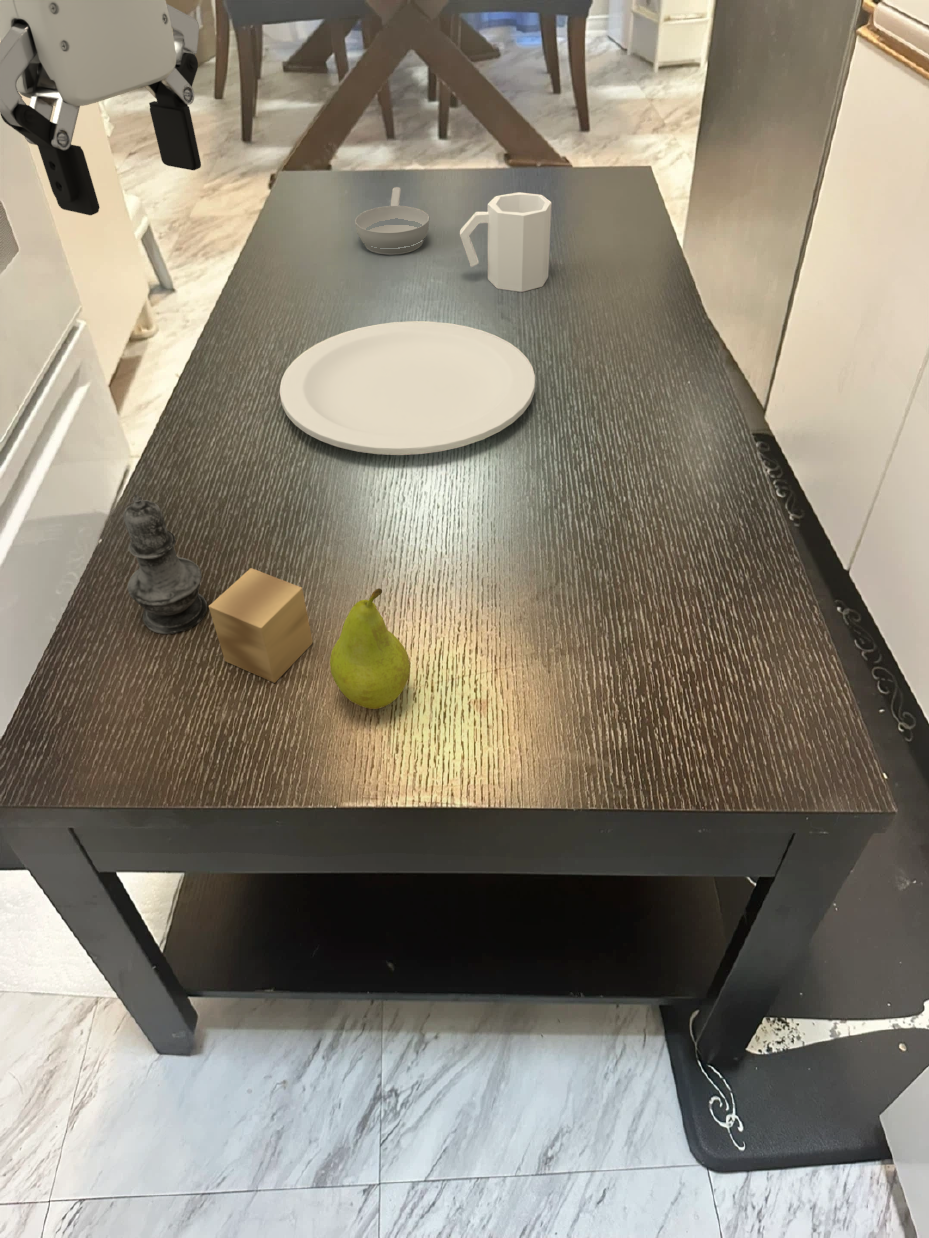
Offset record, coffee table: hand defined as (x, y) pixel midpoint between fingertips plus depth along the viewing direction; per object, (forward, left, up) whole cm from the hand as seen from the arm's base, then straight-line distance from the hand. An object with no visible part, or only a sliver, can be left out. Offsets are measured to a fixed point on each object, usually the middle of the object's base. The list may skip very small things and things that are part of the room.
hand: (133, 188), depth 61 cm
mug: (-3, +62, -31) cm, 69 cm away
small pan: (-25, +69, -31) cm, 80 cm away
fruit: (+23, -10, -31) cm, 39 cm away
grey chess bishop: (+3, -10, -31) cm, 32 cm away
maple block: (+13, -10, -30) cm, 34 cm away
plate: (+2, +29, -31) cm, 42 cm away
